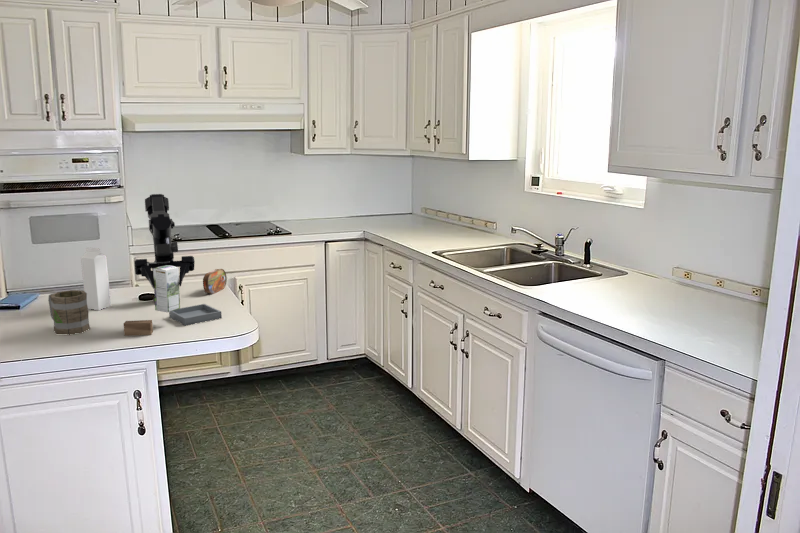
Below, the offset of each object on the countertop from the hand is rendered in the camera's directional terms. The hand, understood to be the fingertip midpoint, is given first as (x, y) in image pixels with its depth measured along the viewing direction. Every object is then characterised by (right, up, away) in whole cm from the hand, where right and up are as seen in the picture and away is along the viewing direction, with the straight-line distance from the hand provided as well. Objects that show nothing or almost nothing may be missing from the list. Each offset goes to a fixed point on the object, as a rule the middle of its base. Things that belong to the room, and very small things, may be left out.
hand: (167, 286), depth 221 cm
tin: (+3, -3, +48) cm, 48 cm away
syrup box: (-1, -8, +3) cm, 9 cm away
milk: (-33, -8, +24) cm, 42 cm away
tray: (+6, -11, +11) cm, 17 cm away
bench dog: (-7, -15, -6) cm, 17 cm away
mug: (-32, -14, -1) cm, 35 cm away
